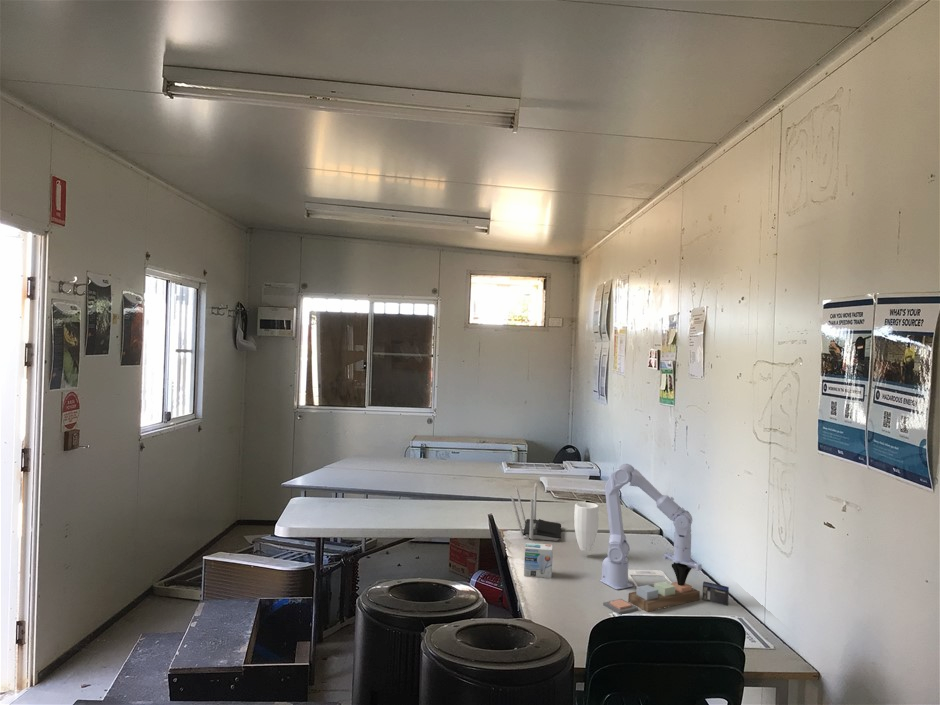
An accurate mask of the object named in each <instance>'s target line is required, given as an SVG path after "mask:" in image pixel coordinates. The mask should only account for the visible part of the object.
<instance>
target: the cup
mask: <svg viewBox="0 0 940 705" xmlns="http://www.w3.org/2000/svg"><path fill="white" fill-rule="evenodd" d="M599 507H600V506H599V505H598V504H596V503H594V502H587V501H586V502H585V501H584V502H583V501H582V502H580V501H579V502H576V503H575V504H574V513H573V515H574V516H573V518H574V520H573V521H574V522H573V523H574V532H575V533H574V534H575V538H576V541H577V545H578V547H579V550H580V551H582V552H591V551H592V548H594V544H595V542H596V539H597V535H598V531H599V521H600V520H599V519H600V518H599V517H600V516H599V515H600V514H599V512H600V508H599Z"/></svg>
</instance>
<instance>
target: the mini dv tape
mask: <svg viewBox="0 0 940 705" xmlns="http://www.w3.org/2000/svg"><path fill="white" fill-rule="evenodd" d="M729 588H730V587H729V586H726V585H721V584H717V583H713V582H710V581H703V582H702V596H701V597H702V600H703V601H706V602H711V603H715V604H719V605H723V606H728V605H729V595H730V594H729V592H730V589H729Z"/></svg>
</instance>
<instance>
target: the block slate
mask: <svg viewBox="0 0 940 705" xmlns="http://www.w3.org/2000/svg"><path fill="white" fill-rule="evenodd" d="M653 587H654V586H651V585H650V584H646V585H640V586H639V587H637V588H636V591H637V593H636V595H638V596H640V597H642V598H643V599H645V600H651V599H655V598H658V590H657V589H655V588H653Z"/></svg>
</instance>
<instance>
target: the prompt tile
mask: <svg viewBox="0 0 940 705" xmlns="http://www.w3.org/2000/svg"><path fill="white" fill-rule="evenodd" d="M602 605H603V606H604V607H606V608H608V609H609V610H611V611H612V612H615V613H616V612H618V613H617V614H618V615H623V614H626V613H630V612H635V611H638V610H639V607H637V606H635V605H633V604H631V603H630V602H628V601H626V600H625V599H623V598H618V599H614V600H608V601H604V602H603V603H602Z"/></svg>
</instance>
